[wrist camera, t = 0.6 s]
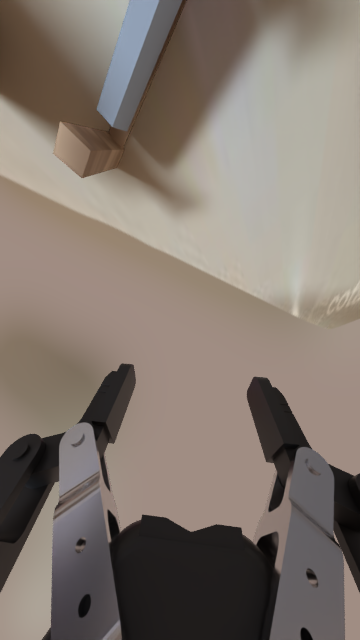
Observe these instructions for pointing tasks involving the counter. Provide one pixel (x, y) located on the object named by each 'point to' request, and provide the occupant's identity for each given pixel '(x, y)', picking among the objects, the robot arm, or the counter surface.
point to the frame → (99, 136)
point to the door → (135, 58)
